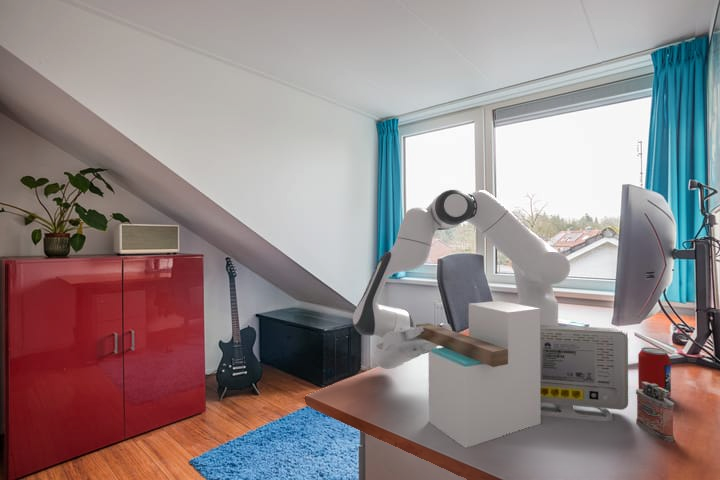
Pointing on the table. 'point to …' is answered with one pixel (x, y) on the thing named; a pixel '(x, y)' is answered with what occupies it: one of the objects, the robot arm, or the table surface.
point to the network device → (583, 370)
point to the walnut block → (465, 345)
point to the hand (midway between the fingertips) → (432, 327)
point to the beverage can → (654, 368)
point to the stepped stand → (489, 377)
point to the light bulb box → (571, 323)
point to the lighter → (655, 411)
